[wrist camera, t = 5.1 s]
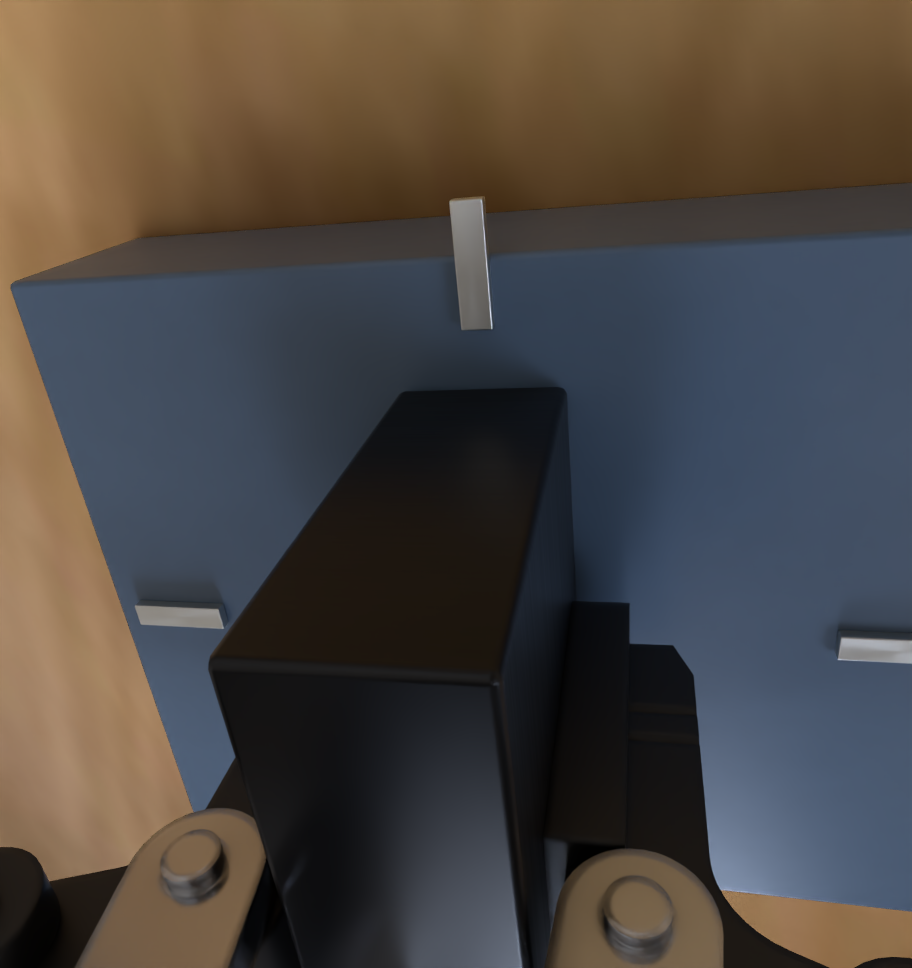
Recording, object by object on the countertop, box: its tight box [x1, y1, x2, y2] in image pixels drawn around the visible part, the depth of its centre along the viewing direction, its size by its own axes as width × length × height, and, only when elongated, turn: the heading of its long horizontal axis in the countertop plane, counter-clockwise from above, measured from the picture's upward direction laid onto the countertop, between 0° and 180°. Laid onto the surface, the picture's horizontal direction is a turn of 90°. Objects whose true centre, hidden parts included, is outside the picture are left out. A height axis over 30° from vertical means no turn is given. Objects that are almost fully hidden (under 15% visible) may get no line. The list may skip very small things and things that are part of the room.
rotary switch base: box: [11, 183, 912, 912], centre depth 12 cm, size 14×11×3 cm
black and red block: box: [208, 387, 576, 968], centre depth 9 cm, size 7×2×5 cm, turn 6°
